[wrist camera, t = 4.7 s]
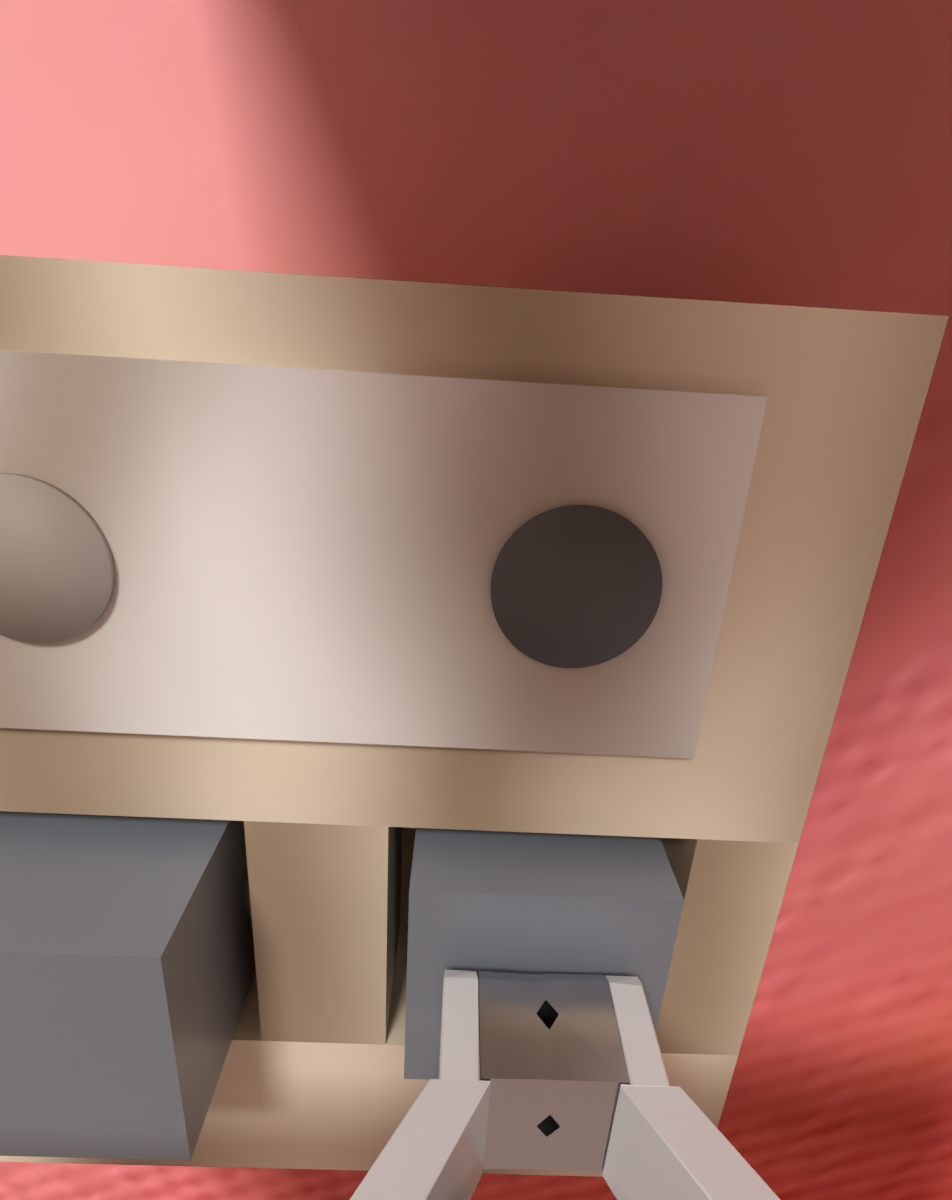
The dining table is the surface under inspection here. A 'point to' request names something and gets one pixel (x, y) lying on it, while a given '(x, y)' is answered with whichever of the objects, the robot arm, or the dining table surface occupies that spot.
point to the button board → (434, 616)
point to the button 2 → (532, 916)
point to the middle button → (117, 981)
